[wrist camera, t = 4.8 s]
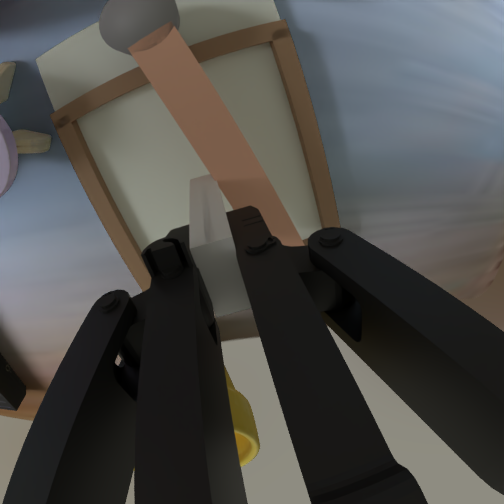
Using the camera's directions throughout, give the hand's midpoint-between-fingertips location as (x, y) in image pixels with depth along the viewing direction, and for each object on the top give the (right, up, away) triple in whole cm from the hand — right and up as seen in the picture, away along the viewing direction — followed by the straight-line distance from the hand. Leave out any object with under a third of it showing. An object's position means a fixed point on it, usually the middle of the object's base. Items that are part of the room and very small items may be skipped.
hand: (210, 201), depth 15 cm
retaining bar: (0, +4, -1) cm, 4 cm away
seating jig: (-1, +4, +2) cm, 4 cm away
